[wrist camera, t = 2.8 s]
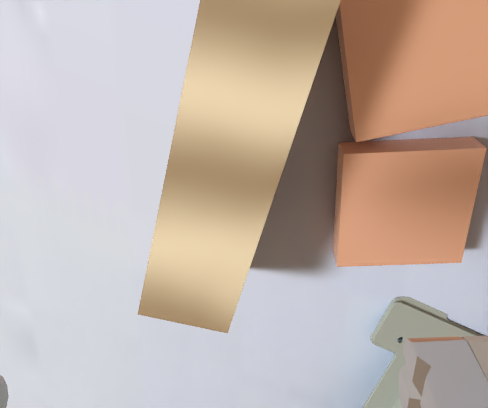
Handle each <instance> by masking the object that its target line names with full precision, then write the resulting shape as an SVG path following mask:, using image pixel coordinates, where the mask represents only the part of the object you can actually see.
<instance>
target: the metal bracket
mask: <svg viewBox="0 0 488 408" xmlns="http://www.w3.org/2000/svg"><path fill="white" fill-rule="evenodd" d="M457 336H459V337H466V336H483V335H481V334H479V333H476V332H474V331H472V330H470V329H467V328H465V327H463V326H461V325H458V324H456V323H454V322H451V321H449V320H448V319H447V314H446V313H443V312H441V311H439V310H437V309H435V308H432V307H430V306H428V305H426V304H423V303H421V302H419V301H417V300H414V299H412V298H410V297H396V298H395V299H393V300H392V302H391V304H390V305H389V307H388V309H387V310H386V312H385V314H384V315H383V317H382V319H381V320H380V322H379V324H378V325H377V327H376V329H375V330H374V332H373V334H372V335H371V341H372V343H373V344H375V345H377V346H379V347H382V348H384V349H387V350H389V351H392V352H394V354H395V355H394V358H393V360H392V361H391V363H390V364H389V366H388V368H387V369H386V371H385V373H384V374H383V376H382V377H381V379H380V381H379V382H378V384H377V385H376V387H375V389H374V390H373V392H372V394H371V395H370V397H369V398H368V400H367V402H366V403H365V405H364V406H363V408H402V406H401V401H400V396H399V383H398V380H399V371H400V368H401V367H402V366H403V365H405V364H406V361H405V358H404V356H403V353H402V352H403V347H404V342H405V341H406V339H407V338H430V337H457ZM400 337H403V339H402V340H401V341H397V340H398V338H400Z"/></svg>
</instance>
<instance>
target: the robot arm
mask: <svg viewBox="0 0 488 408" xmlns="http://www.w3.org/2000/svg"><path fill="white" fill-rule="evenodd" d="M402 353H403V356H404V358H405V361H406V364H405V365H403V366H402V367H401V368H400V371H399V380H398V383H399V396H400V401H401V406H402V408H488V336H466V337H459V336H457V337H430V338H407V339H406V341H405V342H404V347H403V352H402ZM7 401H8V389H7V384H6V382H5V380H4V378H3V377H2V376H1V375H0V408H6V406H7Z"/></svg>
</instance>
